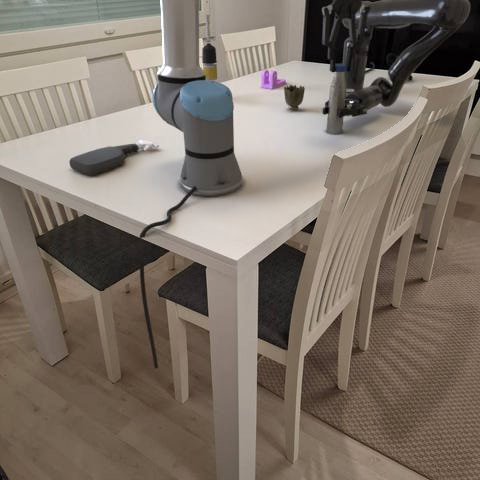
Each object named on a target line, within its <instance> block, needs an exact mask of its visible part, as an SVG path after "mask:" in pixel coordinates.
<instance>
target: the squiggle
mask: <svg viewBox="0 0 480 480" xmlns="http://www.w3.org/2000/svg"><path fill="white" fill-rule="evenodd" d="M399 56H400V55H396V54H394V53H392V52H390V53H387V55H386V57H385V61H386V64H387V67H391V66H392V65H393V63H394V62H395V61H396V59H397V58H398V57H399ZM391 59H392V60H391ZM393 60H394V61H393ZM413 79H414V77H413V75H412V74H411V75H410V77H409V78H408V79H407V80H408V81H412V80H413Z"/></svg>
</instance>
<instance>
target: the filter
mask: <svg viewBox="0 0 480 480" xmlns="http://www.w3.org/2000/svg"><path fill="white" fill-rule="evenodd" d="M210 17H211V14H204V18H205V27H206V29H205V30H206V31H205V33H206V39H207V40H206V42H207V43H206V45H204V46H202V49H201V50H202V51H201V52H202V54H201V55H202V57H201V58H202V61H201V63H202V69H203V70H204V71H205V73H206V80H207V81H211V82H216V80H218V64H216V63H218V61H217V48H216V47H215V46H214V45H212V43H210V42H211V40H210V39H211V31H210V29H211V28H210Z"/></svg>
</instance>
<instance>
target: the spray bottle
mask: <svg viewBox="0 0 480 480" xmlns="http://www.w3.org/2000/svg"><path fill="white" fill-rule="evenodd" d="M159 148H160V145H159V144H158V143H155V142H151V141H148V140H144V139H139V140H138V141H137V142H135V143H129V144H128V143H126V144H122V145H113V146H105V147H100V148H97V149H94V150H90V151H87V152H83V153H81V154H78V155H74V156H73V157H70V159H69V161H68V162H69V167H70V168H71V169H72V170H74V171H75V172H78V173H81V174H83V175H85V176H89V177H90V176H91V177H92V176H95V175H99V174H102V173H105V172H107V171H110V170H113V169H116V168H118V167H120V166H122V165H123V164H124V163H125V158H126V156H127V155H131V154H133V153H138V151H140V150H143V151H144V152H146V151H147V150H149V149H159Z"/></svg>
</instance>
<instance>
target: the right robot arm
mask: <svg viewBox="0 0 480 480" xmlns="http://www.w3.org/2000/svg"><path fill="white" fill-rule="evenodd" d="M361 1H362V0H361ZM362 4H363V5H365V6H370V8H371V9H370V11H369V13H368V16H367V21H366V28H365V35H364V42H363V44H362V45H358V47H357V48H356V53H355V58H354V59H352V63H351V72H348V71H346V72H345V80H346V98H345V108H344V109H342V110H339V112H338V118H342V117H343V118H344V117H350V116H351V117H352V118H355V117H359V116H363V115H367V114H368V111H370V110H371V109H373V108H375V107H377V106H379V105H381V106H382V107H384V108H388V107H391V106H393V105H394V104H395V103H396V101H398V98H399V96H400V94H401V92H402V90H403V87H404V85H405V84H406V82H407V80H409V79H408V78H409V77H410V75H412V74H413V73H414V72H415V71H416V69H417V68H418V67H419V66H420V65H421V64H422V63H423V62H424V60H425V59H426V58H428V57H429V56H430V55H431V54H432V53H433V52H434V51H435V50H436V49H437V48H438V47H439V46H441V44H442V43H444V42H445V41H446V40H447V39H448V38H449V37H450V36H451V35H453V34H454V33H455V32H456V31H457V30H458V29H459V28H460V27H461V26H462V25H463V24H464V23H465V22H466V20H467V18H468V17H469V14H470V12H471V3H470V1H469V0H378V1H373V2H371V1H369V0H363V1H362ZM360 14H361V13H360V9H359V10H358V12H357V13H356V14H355V16H356V21H355V24H356V37H357V34H358V27H359V20H360ZM341 23H342V24H343V26H344V27H345V28H347V29H348V30H349V23H348V18H344V19H343V20H342V22H341ZM412 24H423V25H429V26H432V27H433V28H432V29H431V30H430V31H429V32H428V33H426V34H425V35H423V37H421V38H420V39H419V40H417V41H416V42H414V43H413V44H411V45H410V46H408V47H407V48H405V50H403V51H402V52H401V53H400V54H399V55H398V56H399V57H398V58H397V59H396V61H395V60H394V61H393V65H392V66H389V69H388V70H387V75H388V78H389V80H388V79H387V78H386V77H384V76H378V77H377V78H375V79H374V80H373V81H372V82H371V83H370V85H369V86H366V87H365V88H364V84H365V76H366V73H369V72H371V71H372V70H374V69H375V68H376V65H375V64H374V62H373V61H370V62H369V66H372V67H371V68H368V69H366V68H367V63H368V62H367V61H368V52H369V46H370V43H371V40H372V37H373V32H374V31H373V30H374V28H378V29H393V30H394V29H404V28H407V27H409V26H410V25H412ZM348 46H350V47H351V45H350V36H349V37H347V38H346V39H345V40H344V42H343V53H342V54H343V55H342V63H341V64H346V57H347V47H348ZM390 81H391V82H390ZM328 107H329V99H328V100H327V101H325V102H324V107H322V115H328Z"/></svg>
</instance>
